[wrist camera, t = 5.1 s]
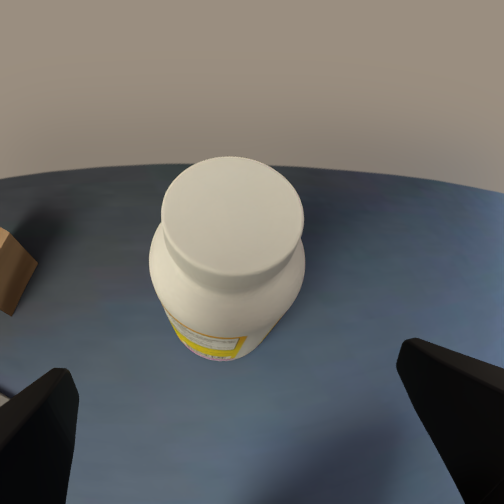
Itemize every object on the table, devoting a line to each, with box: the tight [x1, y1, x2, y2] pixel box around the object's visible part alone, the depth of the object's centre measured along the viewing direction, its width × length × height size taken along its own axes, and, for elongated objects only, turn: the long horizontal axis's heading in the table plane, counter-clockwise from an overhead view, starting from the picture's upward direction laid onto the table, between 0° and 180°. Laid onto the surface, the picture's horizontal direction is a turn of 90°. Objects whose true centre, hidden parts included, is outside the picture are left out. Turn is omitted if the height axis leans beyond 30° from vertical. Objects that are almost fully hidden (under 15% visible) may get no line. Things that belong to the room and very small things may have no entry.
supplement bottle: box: [149, 157, 305, 361], centre depth 16 cm, size 7×7×13 cm
